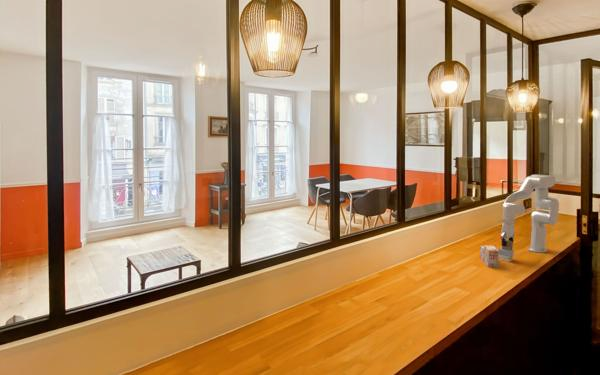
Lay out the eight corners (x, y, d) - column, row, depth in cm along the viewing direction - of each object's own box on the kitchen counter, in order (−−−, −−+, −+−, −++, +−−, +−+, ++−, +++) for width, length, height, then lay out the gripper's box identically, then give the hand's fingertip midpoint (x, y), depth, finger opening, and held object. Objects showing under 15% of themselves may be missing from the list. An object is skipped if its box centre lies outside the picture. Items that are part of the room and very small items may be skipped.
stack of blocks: (479, 258, 281) (480, 241, 279) (488, 258, 279) (489, 242, 278) (488, 267, 260) (489, 250, 258) (498, 268, 259) (499, 250, 257)
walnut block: (505, 247, 278) (505, 239, 277) (512, 249, 274) (512, 241, 273) (501, 249, 275) (502, 241, 274) (509, 250, 271) (509, 242, 270)
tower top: (503, 252, 280) (504, 247, 280) (513, 254, 275) (513, 249, 274) (498, 254, 277) (498, 248, 276) (508, 256, 271) (508, 251, 270)
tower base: (503, 257, 281) (503, 252, 280) (513, 260, 275) (513, 254, 275) (498, 259, 277) (498, 254, 276) (508, 262, 271) (508, 256, 271)
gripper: (509, 219, 280) (508, 241, 282) (497, 222, 270) (495, 245, 273) (519, 220, 274) (518, 243, 276) (507, 224, 264) (506, 248, 267)
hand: (507, 244), depth 275 cm, fingers open, 9 cm apart
